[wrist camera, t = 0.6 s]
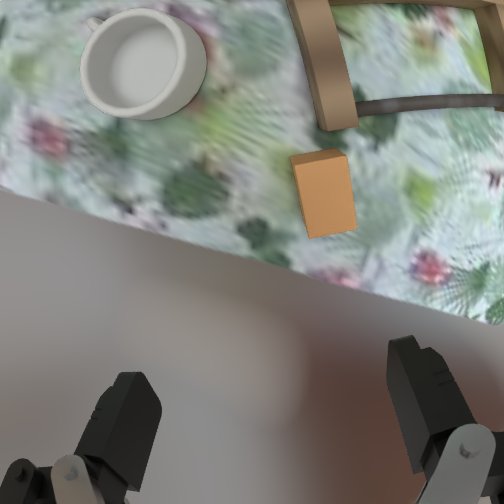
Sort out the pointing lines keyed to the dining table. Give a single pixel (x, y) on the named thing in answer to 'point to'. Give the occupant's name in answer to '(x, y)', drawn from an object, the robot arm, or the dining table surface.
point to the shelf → (347, 111)
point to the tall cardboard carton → (324, 192)
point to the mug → (141, 64)
